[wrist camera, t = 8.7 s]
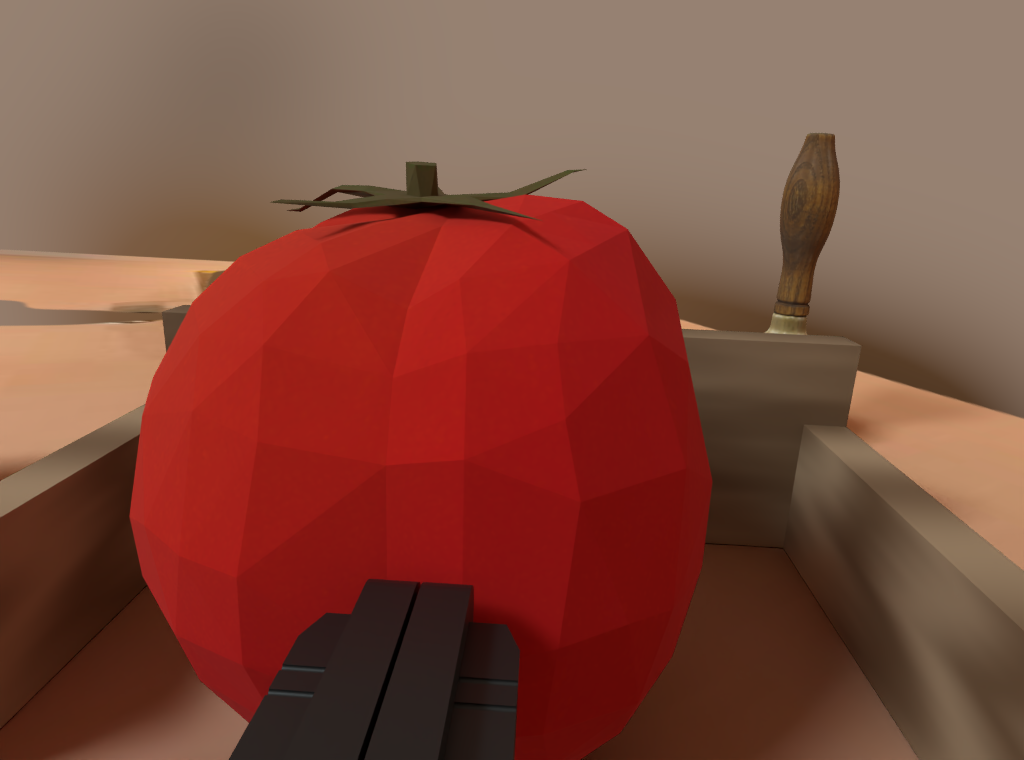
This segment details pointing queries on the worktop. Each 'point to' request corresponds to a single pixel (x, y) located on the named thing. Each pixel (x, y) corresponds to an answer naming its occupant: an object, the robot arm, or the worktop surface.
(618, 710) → the tomato
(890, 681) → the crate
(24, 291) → the worktop surface
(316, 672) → the robot arm
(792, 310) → the hand bell
